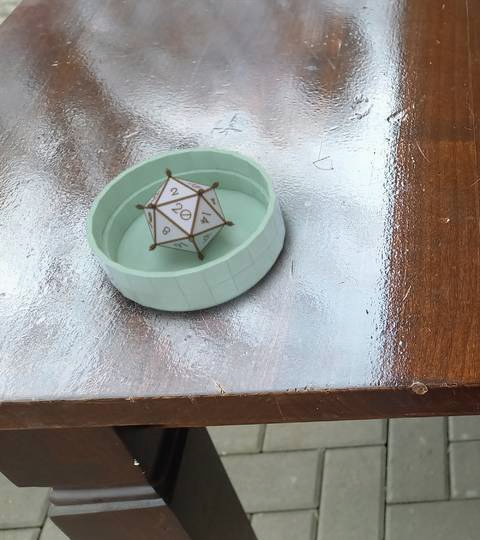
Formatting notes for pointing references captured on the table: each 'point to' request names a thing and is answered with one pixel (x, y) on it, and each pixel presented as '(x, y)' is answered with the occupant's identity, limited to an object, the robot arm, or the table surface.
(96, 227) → the bowl
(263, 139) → the table surface
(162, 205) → the game die
